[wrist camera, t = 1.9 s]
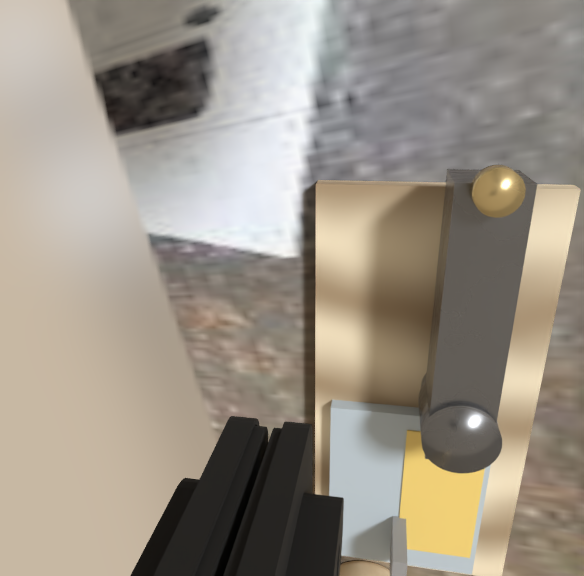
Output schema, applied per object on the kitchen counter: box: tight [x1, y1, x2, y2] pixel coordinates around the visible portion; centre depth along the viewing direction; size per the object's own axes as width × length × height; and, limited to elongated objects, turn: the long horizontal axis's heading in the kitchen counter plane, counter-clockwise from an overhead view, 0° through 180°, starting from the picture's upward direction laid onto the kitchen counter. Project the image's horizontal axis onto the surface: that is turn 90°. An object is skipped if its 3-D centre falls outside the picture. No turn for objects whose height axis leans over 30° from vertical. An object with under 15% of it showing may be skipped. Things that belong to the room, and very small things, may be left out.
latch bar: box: [418, 165, 537, 473], centre depth 23 cm, size 14×4×4 cm, turn 1°
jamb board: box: [315, 180, 581, 576], centre depth 29 cm, size 25×12×1 cm, turn 1°
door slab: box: [329, 400, 491, 576], centre depth 29 cm, size 12×9×4 cm
